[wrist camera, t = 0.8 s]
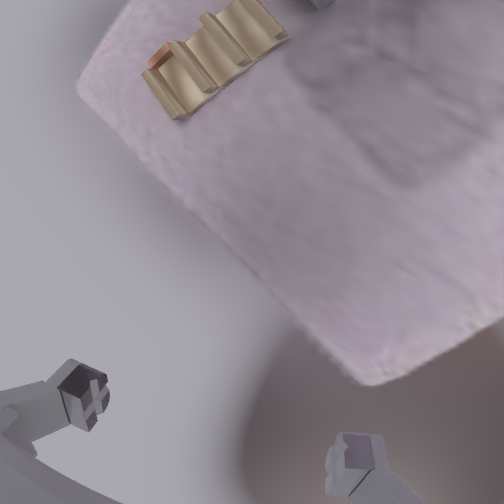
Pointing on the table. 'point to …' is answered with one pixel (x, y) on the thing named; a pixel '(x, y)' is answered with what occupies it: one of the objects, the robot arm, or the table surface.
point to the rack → (212, 56)
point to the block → (321, 3)
